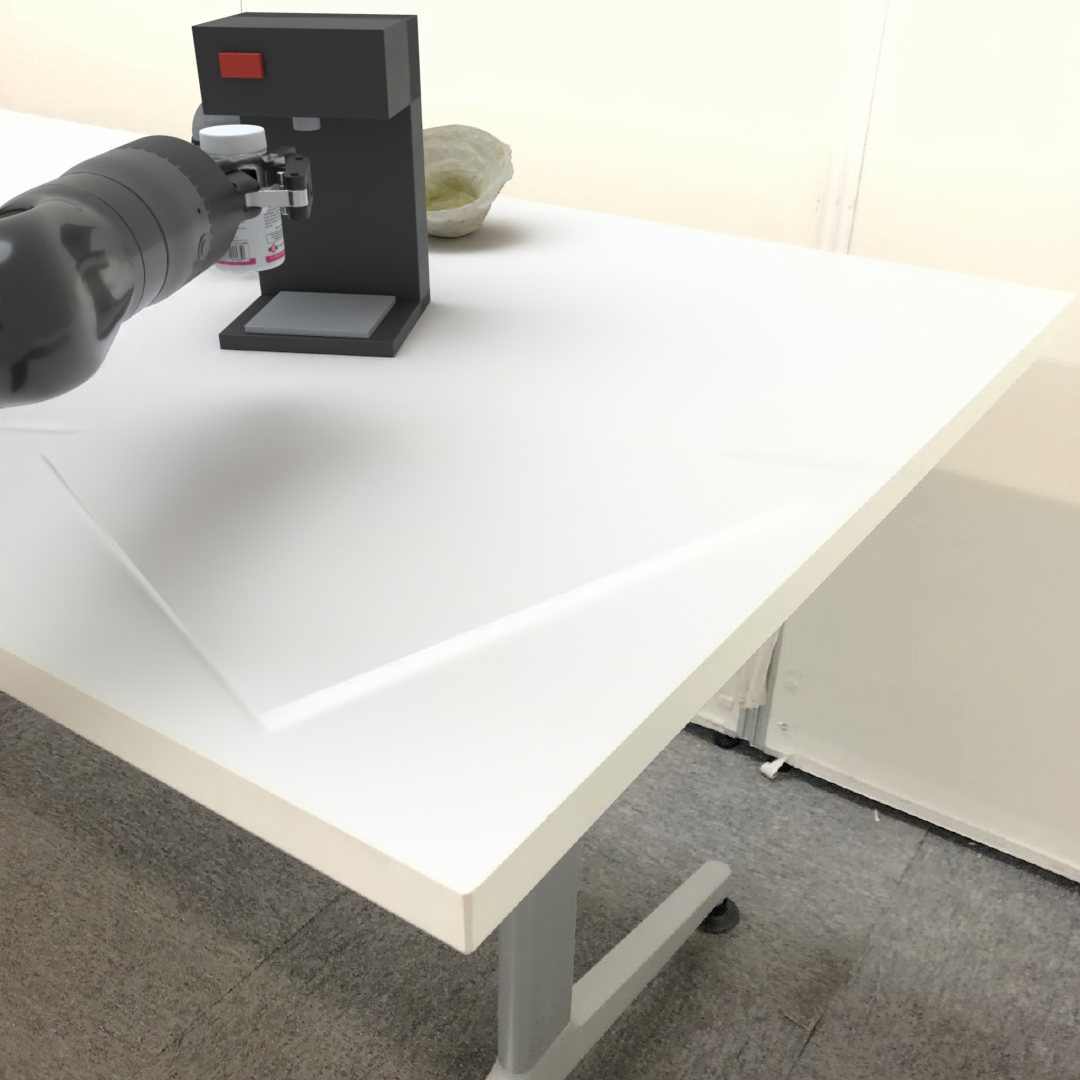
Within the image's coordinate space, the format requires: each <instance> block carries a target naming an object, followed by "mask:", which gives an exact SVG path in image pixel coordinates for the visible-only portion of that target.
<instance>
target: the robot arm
mask: <svg viewBox="0 0 1080 1080" xmlns="http://www.w3.org/2000/svg"><path fill="white" fill-rule="evenodd" d="M239 169H240V170H239ZM265 171H266V178H267V187H266V182H265ZM312 202H313V193H312V182H311V172H310V161H309V158H306V157H303V156H301V153H296V150H295V147H294V146H282V147H280V148H278V149H276V150H275V151H273V152H271V153H269V154H268V155H266V156H261V155H258V154H248V153H239V154H236V155H232V156H228V157H224V158H221V157H212V156H209V155H208V154H207V153H205V152H204V151H203V150H201V147H200V145H199V146H195V145H194V144H192V143H191V141H190V142H189V141H187V140H185V139H182V138H180V137H177V136H172V135H165V134H154V135H153V134H152V135H147V136H143V137H140V138H137V139H135V140H132V141H129V142H127V143H125V144H122V145H120V146H118V147H117V146H116V147H115V148H112V149H110V150H107V151H104V152H102V153H99V154H97V155H94V156H92V157H89V158H87V159H85V160H82V161H81V162H79V163H77V164H75V165H74V166H73V165H72V167H70V168H68V169H67V170H66V171H65V172H63V173H62V174H60V176H59V177H57V178H54V179H52V180H49V181H46V182H44V183H42V184H39V185H37V186H35V187H32V188H29V189H28V190H26V191H23V192H21V193H20V194H18V195H15V196H13V197H12V198H10V199H8V201H6V202H5V203H3V204H1V205H0V410H2V409H10V408H17V407H25V406H31V405H36V404H40V403H43V402H46V401H50V400H51V401H52V400H53V399H57V398H59V397H61V396H63V395H65V394H68V393H69V392H71V391H73V390H75V389H77V388H79V387H80V386H82V385H83V384H85V383H86V382H88V381H89V380H90V379H92V378H93V377H94V376H95V375H96V374H97V372H98V371H99V370H100V368H101V367H102V365H103V363H104V362H105V360H106V358H107V355H108V353H109V351H110V349H111V347H112V345H113V343H114V341H115V339H116V337H117V335H118V333H119V331H120V329H121V326H122V324H124V323H125V322H127V321H128V320H129V319H131V318H133V317H134V316H135V315H137V314H138V313H140V312H141V311H142V310H144V309H146V308H148V307H150V306H153V305H156V304H158V303H160V302H162V301H164V300H166V299H168V298H170V297H171V296H172V295H174V294H175V293H177V292H178V291H179V290H180V289H182V288H183V287H185V286H186V285H187V284H189V283H191V282H192V281H193V280H195V279H196V278H197V277H199V276H200V275H201V274H203V273H204V272H206V271H207V270H208V269H209V268H211V267H213V266H214V264H215V263H216V262H218V261H219V260H220V259H221V258H222V257H223V256H224V254H225V253H226V252H227V250H228V249H229V247H230V245H231V244H232V242H233V239H234V237H235V234H236V232H237V229H238V227H239V224H240V222H242V221H245V220H248V219H252V218H255V217H257V216H258V215H260V214H263V213H265V212H266V211H267V210H268V207H281V214H283V215H288V219H290V220H295V221H303V220H305V219H308V218H309V217H310V212H311V207H312Z"/></svg>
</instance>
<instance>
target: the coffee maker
mask: <svg viewBox="0 0 1080 1080" xmlns="http://www.w3.org/2000/svg"><path fill="white" fill-rule="evenodd" d="M418 18H419V17H418V15H417V14H393V13H392V14H391V13H390V14H389V13H340V12H339V13H332V12H331V13H330V12H273V11H272V12H271V11H270V12H268V11H244V12H240V13H236V14H232V15H227V16H225V17H221V18H217V19H213V20H209V21H205V22H201V23H198V24H194V25H191V34H192V41H193V49H194V55H195V62H196V69H197V78H198V85H199V92H200V99H201V103H202V107H203V114H204V115H228V116H239V118H240V125H255V126H260V127H263V128H264V131H265V137H266V143H267V148H266V149H267V152H266V153H265V154H264V156H266V155H268V154H269V153H271V152H273V151H275V150H276V149H278V148H280V147H282V146H294V147H295V150H296V153H301V156H303V157H306V158H309V161H310V172H311V182H312V193H313V202H312V207H311V212H310V217H309V218H308V219H305V220H303V221H295V220H290V219H288V215H283V214H281V221H282V231H283V240H284V248H285V259H284V262H283V263H282V264H281V265H279V266H277V267H275V268H271V269H268V270H262V271H257V272H258V279H259V286H260V296H258V297H257V298H256V299H255V300H254V301H253V302H252V303H251V304H250V305H248V306H247V308H245V309H244V310H243V311H242V312H241V313H240V314H239V315H238V316H236V318H234V319H233V320H232V321H231V322H230V323H228V325H227V326H226V327H225V328H223V329H222V330H221V331H220V332H219V333H218V342H219V348H220V349H228V350H245V351H267V352H268V351H269V352H288V353H308V354H309V353H310V354H329V355H348V356H369V357H370V356H371V357H390V358H393V357H395V355H396V354H397V352H398V351H399V350H400V348H401V346H402V345H403V343H404V341H405V340H406V338H407V337H408V335H409V334H410V332H411V331H412V329H413V328H414V327H415V325H416V323H417V322H418V321H419V319H420V317H421V316H422V314H423V313H424V311H425V310H426V308H427V307H428V305H429V304H430V302H431V286H430V285H431V283H430V282H431V281H430V280H431V279H430V260H429V259H430V258H429V238H428V235H429V234H427V213H426V191H425V169H424V148H423V129H424V128H423V108H422V107H423V105H422V84H421V64H420V63H421V62H420V61H421V60H420V41H419V40H420V39H419V19H418ZM280 213H281V207H280Z"/></svg>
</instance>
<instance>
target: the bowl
mask: <svg viewBox="0 0 1080 1080" xmlns="http://www.w3.org/2000/svg"><path fill="white" fill-rule="evenodd" d="M423 148H424V169H425V191H426V213H427V235H430V236H434V237H439V238H459V237H463V236H465V235H469V234H470V233H473V232H475V231H476V230H478V228H479V227H481V226H482V225H483V223H484V222H485V220H486V218H487V216H488V215H489V212H490V210H491V208H492V204H493V202H494V201H495V200H496V199H497V197H498V196H499V194H500V193H501V190H502V189H503V188H504V186H505V184H507V182H509V181H511V180H512V179H513V176H514V173H515V169H514V164H513V162H512V159H513V155H512V152H513V151H512V148H511V145H510V144H508V143H506V142H504V141H502V140H500V139H499V138H498V137H497V136H494V135H493V134H491V133H490V132H488V131H487V130H484V129H481V128H479V127H475V126H472V125H466V124H465V125H464V124H459V123H454V124H453V123H452V124H446V125H440V126H434V127H433V126H432V127H428V128H423Z"/></svg>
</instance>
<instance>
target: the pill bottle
mask: <svg viewBox="0 0 1080 1080" xmlns="http://www.w3.org/2000/svg"><path fill="white" fill-rule="evenodd" d="M199 137H200V147H201V150H203V151H204V152H205V153H207V154H208V155H209V156H212V157H221V158H224V157H228V156H232V155H236V154H239V153H248V154H258V155H261V156H264V154H265V153H266V152H267V149H266V148H267V143H266V137H265V131H264V128H263V127H260V126H255V125H220V126H213V127H208V128H204V129H201V130H200V131H199ZM239 170H240V169H239ZM265 182H266V187H267V178H266V171H265ZM284 259H285V248H284V240H283V231H282V221H281V213H280V207H268V210H267V211H266V212H265V213H263V214H260V215H258V216H257V217H255V218H252V219H248V220H245V221H242V222H240V224H239V227H238V229H237V232H236V234H235V237H234V239H233V242H232V244H231V245H230V247H229V249H228V250H227V252H226V253H225V254H224V256H223V257H222V258H221V259H220V260H219V261H218V262H216V263H215V264H214V265H213V266H214V267H215V268H216V269H218V270H220V271H224V272H227V273H254V272H258V271H262V270H268V269H271V268H275V267H277V266H279V265H281V264H282V263H283V262H284Z"/></svg>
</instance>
